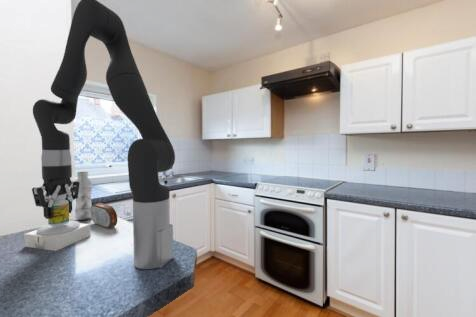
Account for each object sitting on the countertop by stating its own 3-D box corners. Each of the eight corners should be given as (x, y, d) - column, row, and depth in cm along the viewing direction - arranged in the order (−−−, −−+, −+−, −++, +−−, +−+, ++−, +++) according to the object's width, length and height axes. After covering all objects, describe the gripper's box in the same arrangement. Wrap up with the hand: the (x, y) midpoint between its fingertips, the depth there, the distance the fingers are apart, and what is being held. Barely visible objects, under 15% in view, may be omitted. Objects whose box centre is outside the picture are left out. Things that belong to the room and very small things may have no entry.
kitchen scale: (90, 235, 80) (90, 221, 79) (54, 251, 67) (53, 235, 67) (62, 232, 82) (62, 219, 82) (23, 247, 70) (22, 231, 70)
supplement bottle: (69, 220, 78) (69, 192, 78) (68, 224, 74) (68, 195, 74) (49, 222, 75) (48, 193, 75) (47, 227, 71) (46, 196, 71)
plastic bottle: (70, 221, 94) (68, 172, 93) (84, 216, 101) (83, 171, 99) (83, 222, 92) (81, 173, 91) (97, 217, 99) (95, 171, 98)
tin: (118, 228, 87) (117, 206, 86) (110, 231, 84) (109, 208, 83) (97, 221, 95) (97, 201, 94) (89, 223, 92) (88, 202, 91)
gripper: (42, 166, 66) (45, 224, 67) (86, 162, 80) (87, 210, 81) (22, 165, 67) (25, 221, 68) (68, 162, 81) (70, 209, 82)
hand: (58, 215), depth 75 cm, fingers open, 5 cm apart
